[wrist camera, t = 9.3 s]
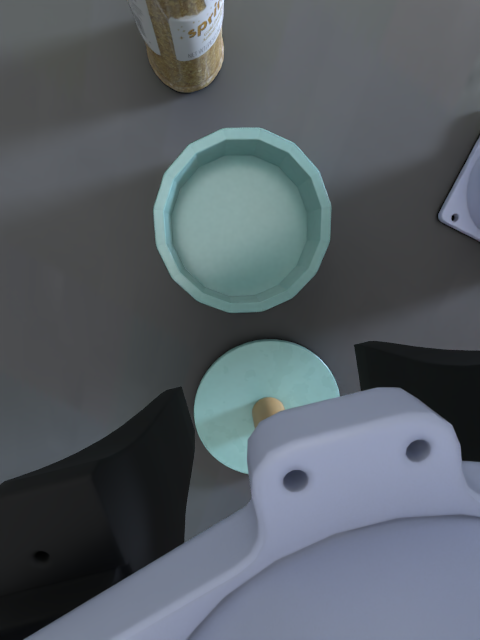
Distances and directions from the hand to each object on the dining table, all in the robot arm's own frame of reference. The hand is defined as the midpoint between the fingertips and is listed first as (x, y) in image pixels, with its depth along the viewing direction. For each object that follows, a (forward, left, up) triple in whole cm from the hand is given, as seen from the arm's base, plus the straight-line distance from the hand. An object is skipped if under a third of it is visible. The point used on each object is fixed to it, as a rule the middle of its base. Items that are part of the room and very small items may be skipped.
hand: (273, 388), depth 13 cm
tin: (+3, -6, -10) cm, 12 cm away
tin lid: (-4, +5, -10) cm, 12 cm away
